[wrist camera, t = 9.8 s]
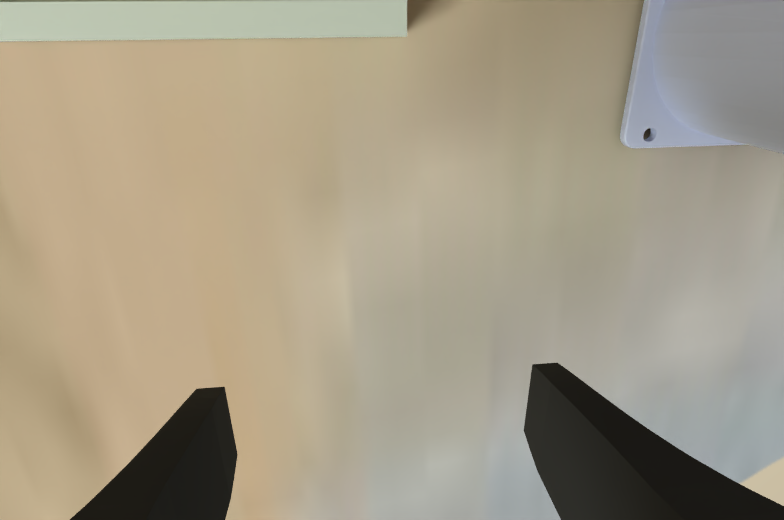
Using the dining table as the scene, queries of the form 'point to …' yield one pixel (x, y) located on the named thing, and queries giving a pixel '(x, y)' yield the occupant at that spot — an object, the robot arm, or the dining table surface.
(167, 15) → the tray
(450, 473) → the dining table surface
